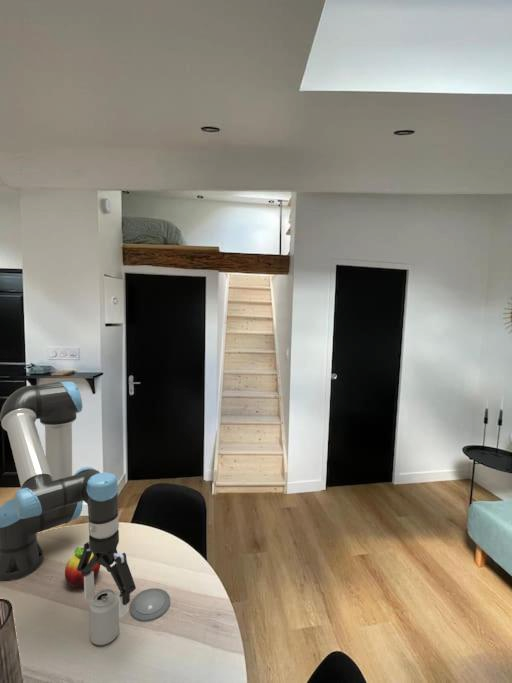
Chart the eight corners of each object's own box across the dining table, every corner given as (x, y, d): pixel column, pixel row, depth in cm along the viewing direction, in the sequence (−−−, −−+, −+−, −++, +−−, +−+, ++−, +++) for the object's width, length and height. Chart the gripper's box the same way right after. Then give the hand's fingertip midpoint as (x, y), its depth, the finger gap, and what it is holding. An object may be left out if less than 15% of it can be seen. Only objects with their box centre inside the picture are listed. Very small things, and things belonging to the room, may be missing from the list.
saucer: (121, 611, 114) (121, 608, 114) (149, 585, 125) (149, 582, 125) (151, 627, 109) (151, 624, 109) (177, 599, 119) (177, 596, 119)
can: (110, 620, 111) (109, 582, 110) (124, 634, 106) (123, 595, 105) (85, 637, 105) (84, 597, 104) (99, 653, 101) (98, 611, 99)
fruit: (69, 598, 119) (68, 568, 118) (61, 578, 127) (60, 550, 126) (104, 582, 126) (104, 554, 125) (94, 565, 134) (94, 538, 133)
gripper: (61, 526, 105) (64, 597, 107) (126, 553, 94) (128, 632, 95) (84, 513, 112) (87, 580, 114) (148, 537, 100) (149, 611, 102)
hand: (106, 604), depth 105 cm, fingers open, 13 cm apart
